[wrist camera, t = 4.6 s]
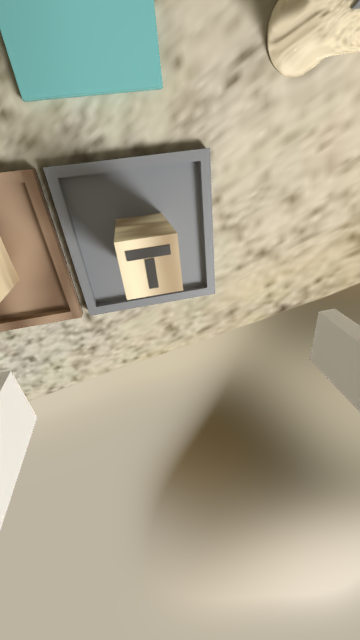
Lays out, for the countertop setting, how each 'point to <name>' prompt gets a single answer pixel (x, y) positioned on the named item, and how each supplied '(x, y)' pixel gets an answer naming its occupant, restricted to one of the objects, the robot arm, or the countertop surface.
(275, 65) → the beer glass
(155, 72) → the teal mat
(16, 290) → the walnut tray
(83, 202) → the grey tray
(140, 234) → the letter block
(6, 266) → the plain block
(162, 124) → the countertop surface
